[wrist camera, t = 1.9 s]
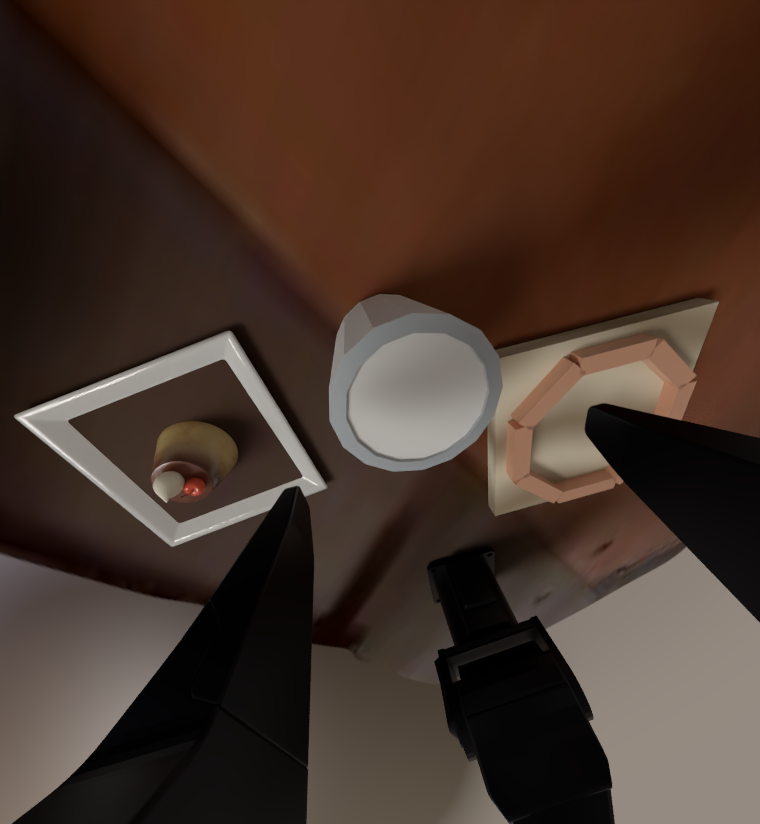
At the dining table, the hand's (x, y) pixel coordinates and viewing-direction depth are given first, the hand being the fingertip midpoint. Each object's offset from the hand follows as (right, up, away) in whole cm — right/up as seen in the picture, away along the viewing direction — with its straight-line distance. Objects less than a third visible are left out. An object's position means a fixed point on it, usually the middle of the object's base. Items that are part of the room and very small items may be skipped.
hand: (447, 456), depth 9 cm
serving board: (+13, +1, +14) cm, 19 cm away
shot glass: (-2, +5, +9) cm, 10 cm away
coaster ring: (+13, 0, +13) cm, 18 cm away
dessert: (-13, -1, +11) cm, 17 cm away
